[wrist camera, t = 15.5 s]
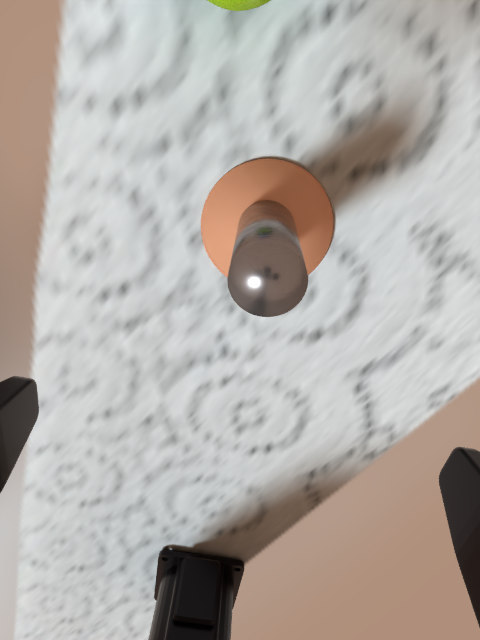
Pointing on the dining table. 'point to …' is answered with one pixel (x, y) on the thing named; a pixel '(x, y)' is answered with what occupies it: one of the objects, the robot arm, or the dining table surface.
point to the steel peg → (267, 261)
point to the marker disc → (267, 184)
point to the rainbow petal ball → (238, 4)
